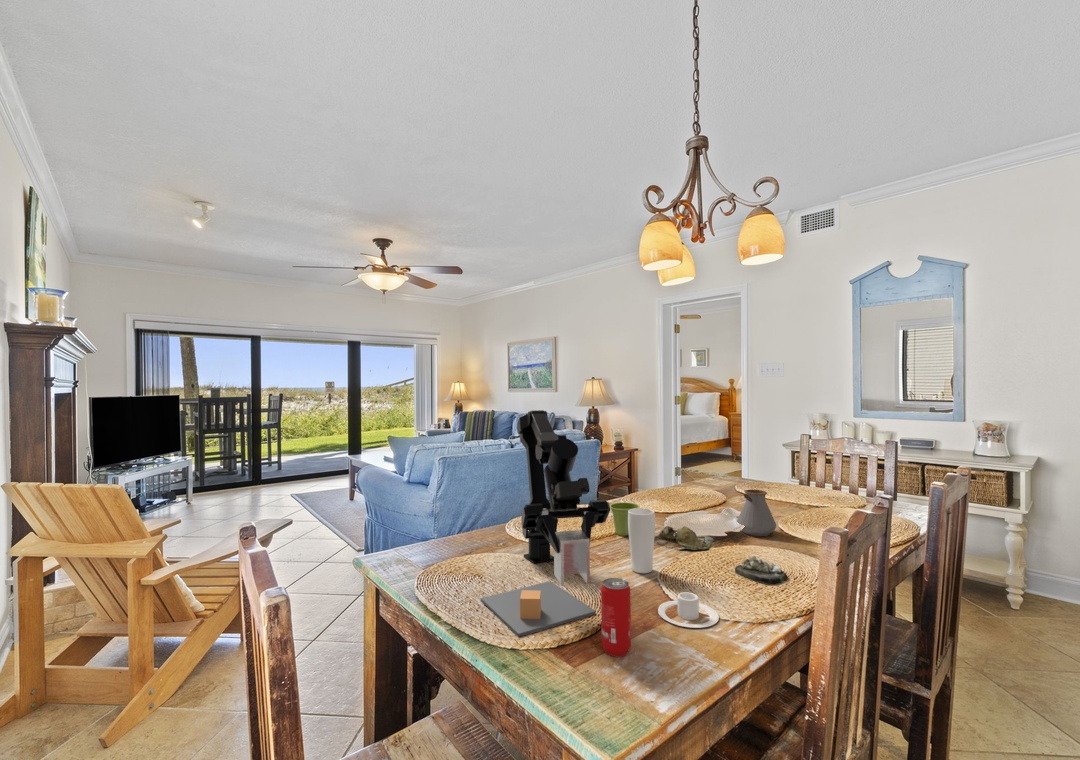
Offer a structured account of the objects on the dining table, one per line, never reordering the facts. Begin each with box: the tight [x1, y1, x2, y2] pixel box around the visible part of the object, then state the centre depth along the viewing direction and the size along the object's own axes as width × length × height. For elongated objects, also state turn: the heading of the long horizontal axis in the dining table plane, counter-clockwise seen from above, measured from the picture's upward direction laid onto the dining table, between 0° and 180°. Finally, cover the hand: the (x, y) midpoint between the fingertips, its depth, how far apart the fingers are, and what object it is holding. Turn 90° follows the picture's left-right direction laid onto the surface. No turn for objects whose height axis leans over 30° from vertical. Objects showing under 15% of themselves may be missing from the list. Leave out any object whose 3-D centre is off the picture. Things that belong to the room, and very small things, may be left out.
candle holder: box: [657, 591, 720, 629], centre depth 102 cm, size 12×12×4 cm
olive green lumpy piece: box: [654, 525, 715, 551], centre depth 149 cm, size 18×18×5 cm
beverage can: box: [600, 577, 632, 658], centre depth 89 cm, size 5×5×12 cm
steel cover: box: [553, 529, 591, 587], centre depth 103 cm, size 6×6×9 cm
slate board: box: [480, 580, 597, 638], centre depth 106 cm, size 18×18×1 cm
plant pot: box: [609, 501, 641, 537], centre depth 157 cm, size 9×9×9 cm
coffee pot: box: [736, 489, 777, 537], centre depth 152 cm, size 21×12×15 cm, turn 145°
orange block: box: [520, 590, 541, 619], centre depth 102 cm, size 4×4×4 cm
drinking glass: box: [628, 507, 656, 574], centre depth 126 cm, size 7×7×15 cm
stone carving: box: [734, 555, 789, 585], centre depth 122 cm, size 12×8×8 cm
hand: (573, 551), depth 102 cm, fingers closed on steel cover, 6 cm apart
